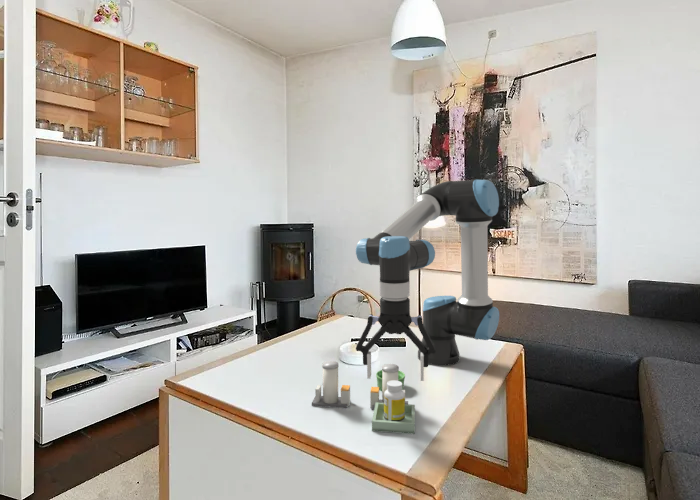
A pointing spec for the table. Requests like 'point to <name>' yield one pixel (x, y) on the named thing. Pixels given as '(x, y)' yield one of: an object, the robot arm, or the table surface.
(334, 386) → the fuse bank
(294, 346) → the table surface
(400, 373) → the ramekin
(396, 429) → the tray
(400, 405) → the supplement bottle
